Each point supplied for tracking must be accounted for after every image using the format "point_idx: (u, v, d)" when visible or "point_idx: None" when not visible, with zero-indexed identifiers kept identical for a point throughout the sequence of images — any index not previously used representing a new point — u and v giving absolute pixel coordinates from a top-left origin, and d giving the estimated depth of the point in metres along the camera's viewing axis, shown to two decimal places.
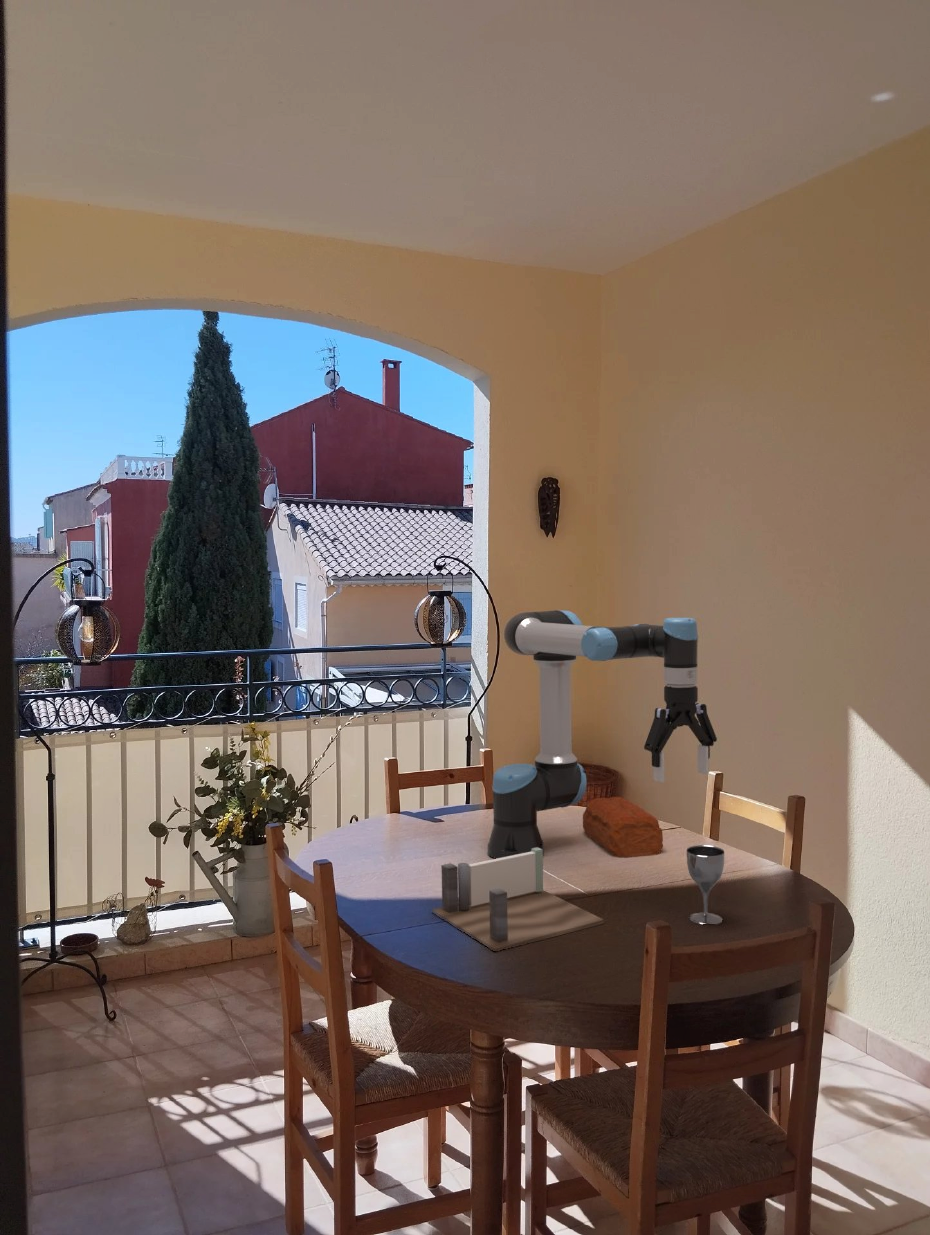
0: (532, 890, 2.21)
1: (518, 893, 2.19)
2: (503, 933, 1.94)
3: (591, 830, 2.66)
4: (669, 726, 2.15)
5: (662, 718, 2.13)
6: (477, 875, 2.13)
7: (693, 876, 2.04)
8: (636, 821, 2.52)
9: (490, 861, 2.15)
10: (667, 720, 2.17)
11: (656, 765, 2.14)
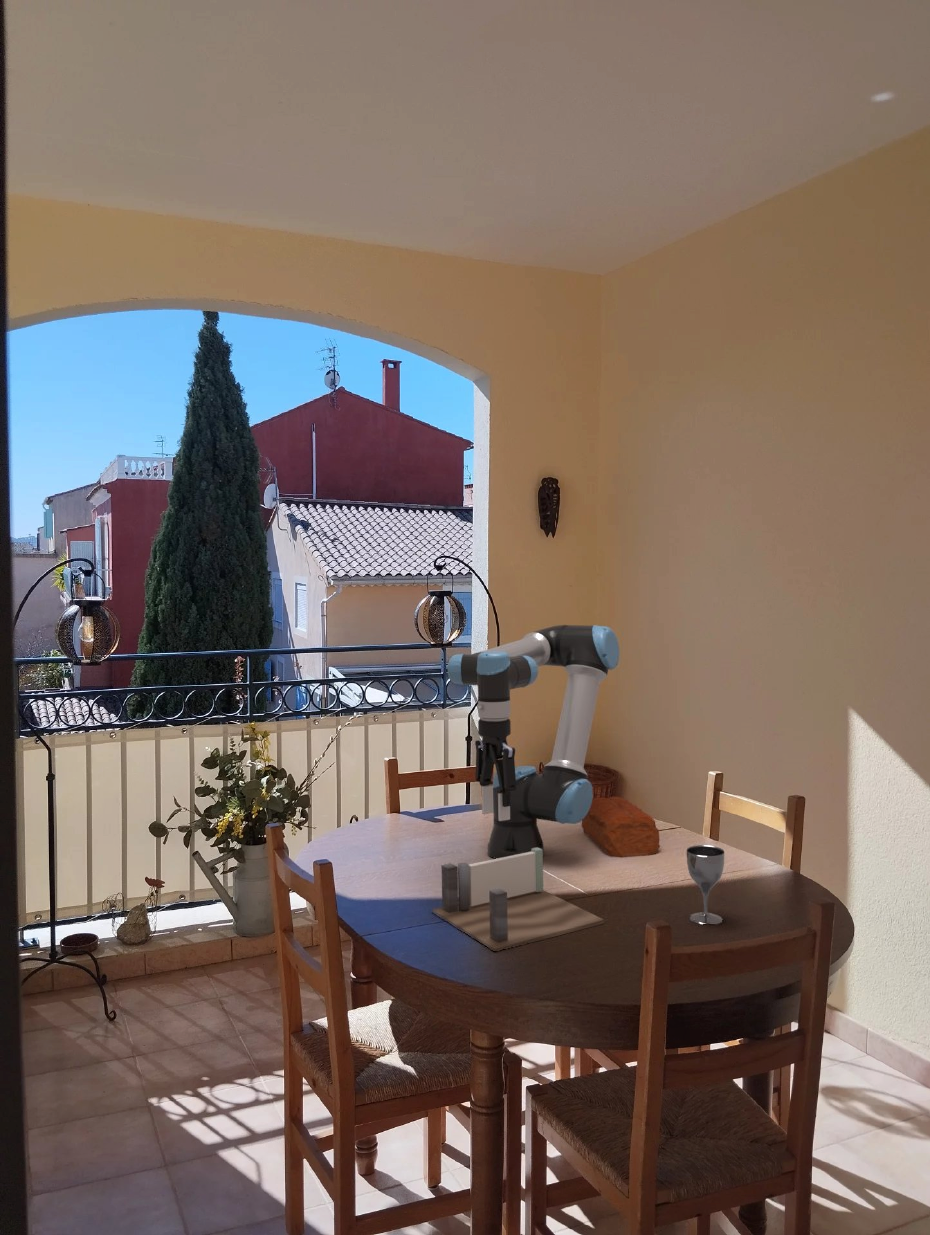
0: (532, 890, 2.21)
1: (518, 893, 2.19)
2: (503, 933, 1.94)
3: (589, 830, 2.66)
4: None
5: (476, 749, 2.26)
6: (477, 875, 2.13)
7: (693, 876, 2.04)
8: (632, 821, 2.53)
9: (490, 861, 2.15)
10: None
11: (482, 796, 2.26)
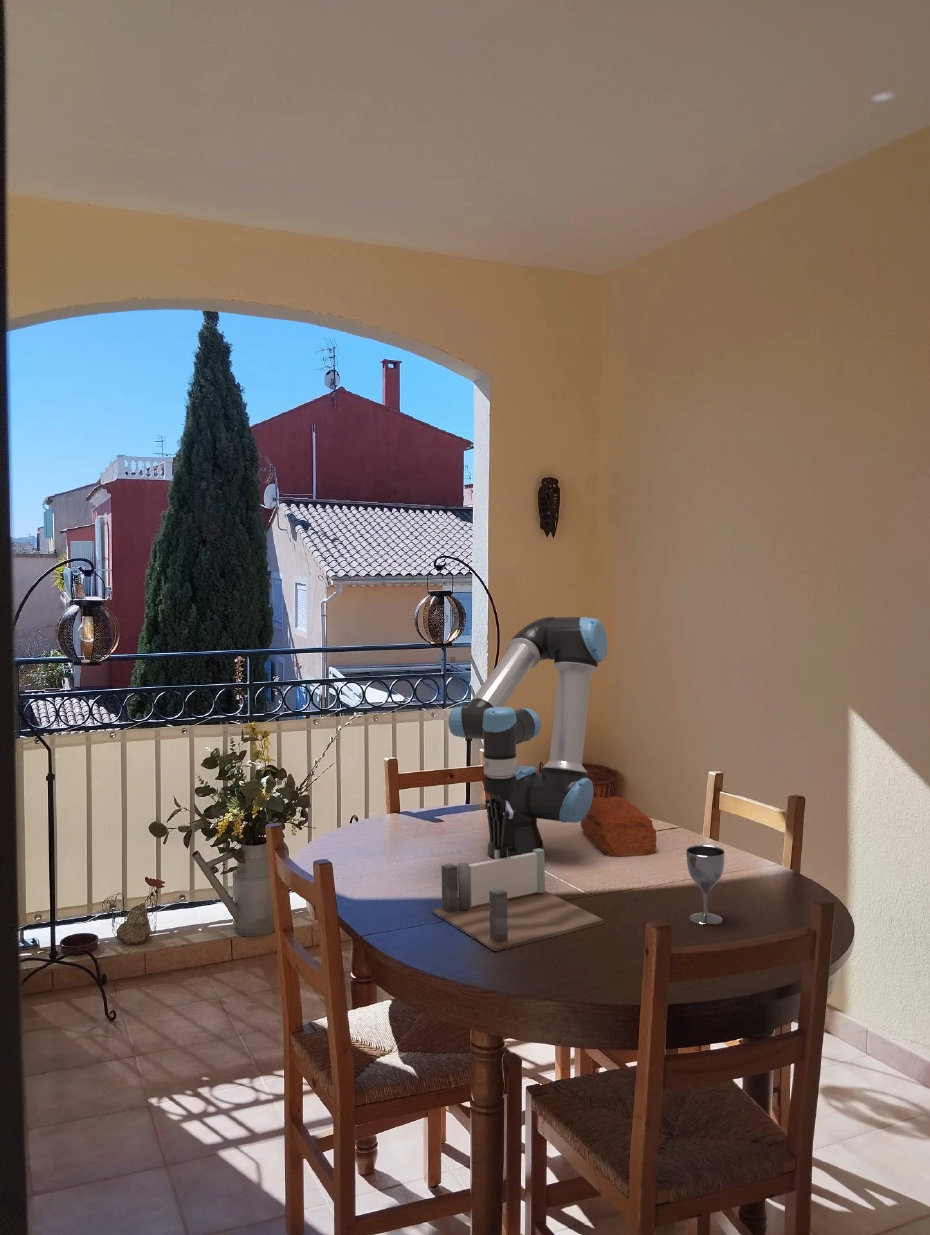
0: (534, 891, 2.20)
1: (519, 894, 2.18)
2: (503, 933, 1.94)
3: (587, 829, 2.67)
4: None
5: (487, 808, 2.24)
6: (477, 875, 2.13)
7: (693, 876, 2.04)
8: (629, 821, 2.53)
9: (491, 861, 2.15)
10: None
11: None
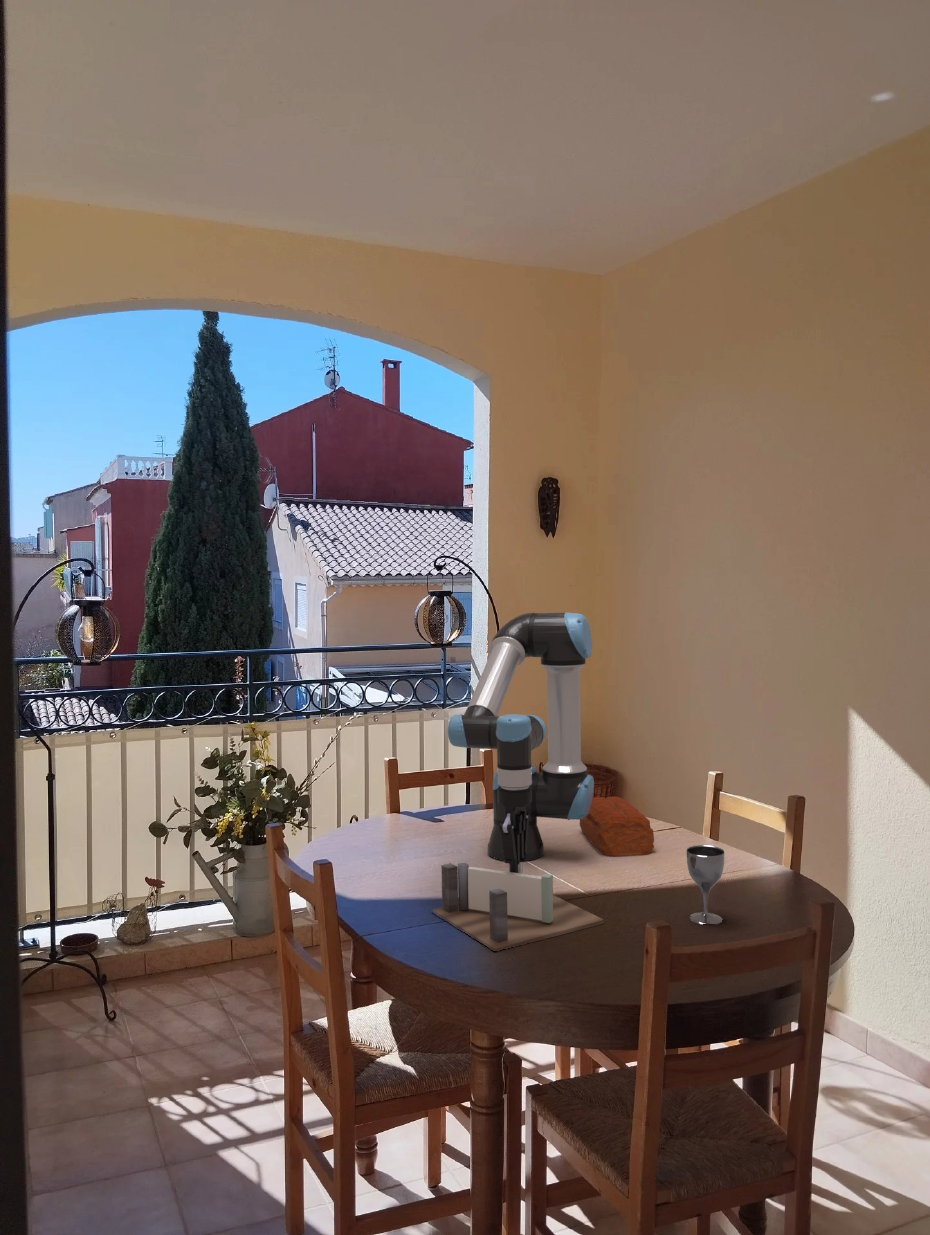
0: (537, 918, 2.04)
1: (521, 915, 2.05)
2: (503, 933, 1.94)
3: (585, 829, 2.67)
4: None
5: None
6: (474, 880, 2.10)
7: (693, 876, 2.04)
8: (626, 821, 2.53)
9: (491, 871, 2.09)
10: None
11: None
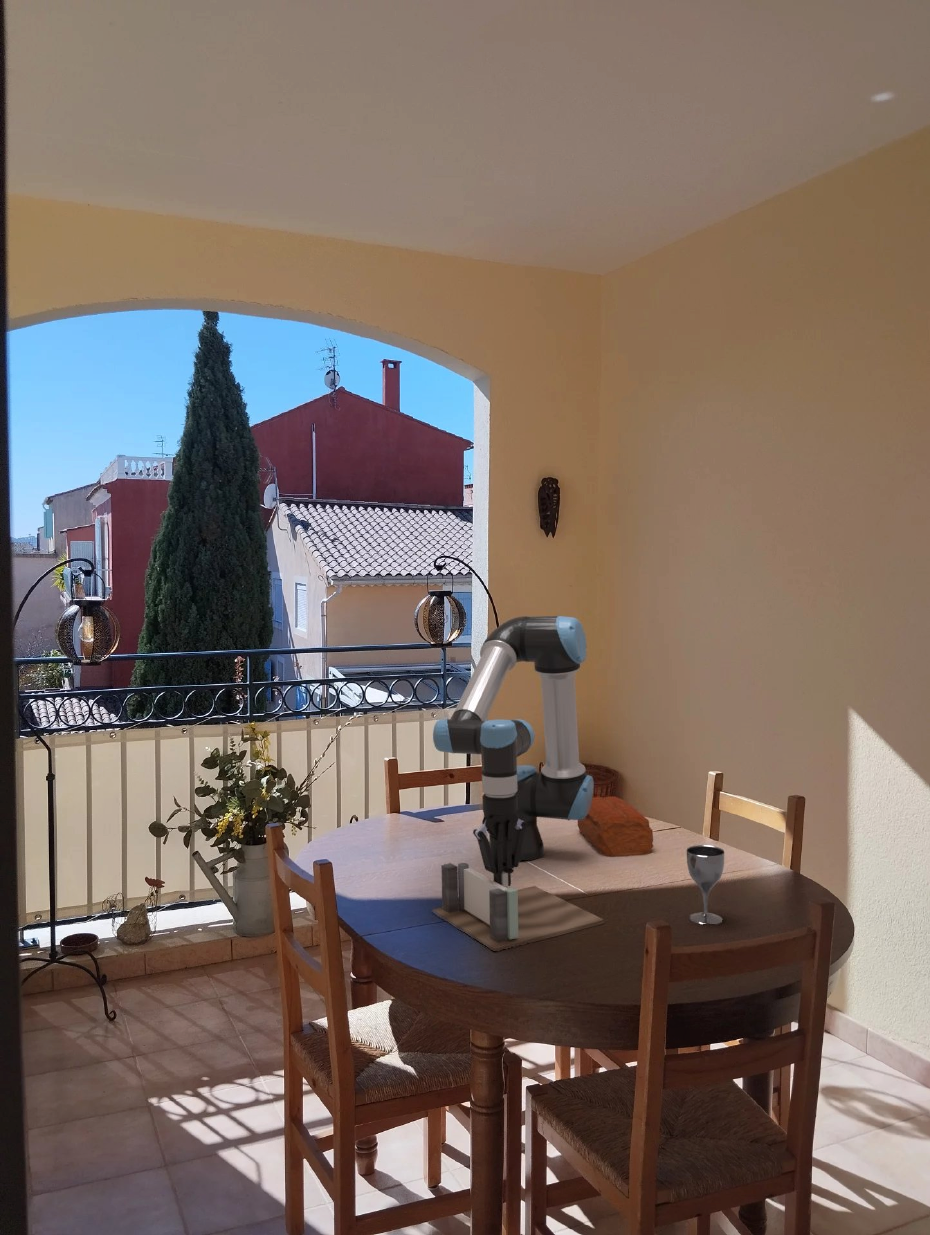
0: None
1: None
2: (503, 933, 1.94)
3: (584, 829, 2.67)
4: None
5: None
6: (467, 881, 2.09)
7: (693, 876, 2.04)
8: (625, 820, 2.53)
9: (478, 875, 2.06)
10: None
11: None
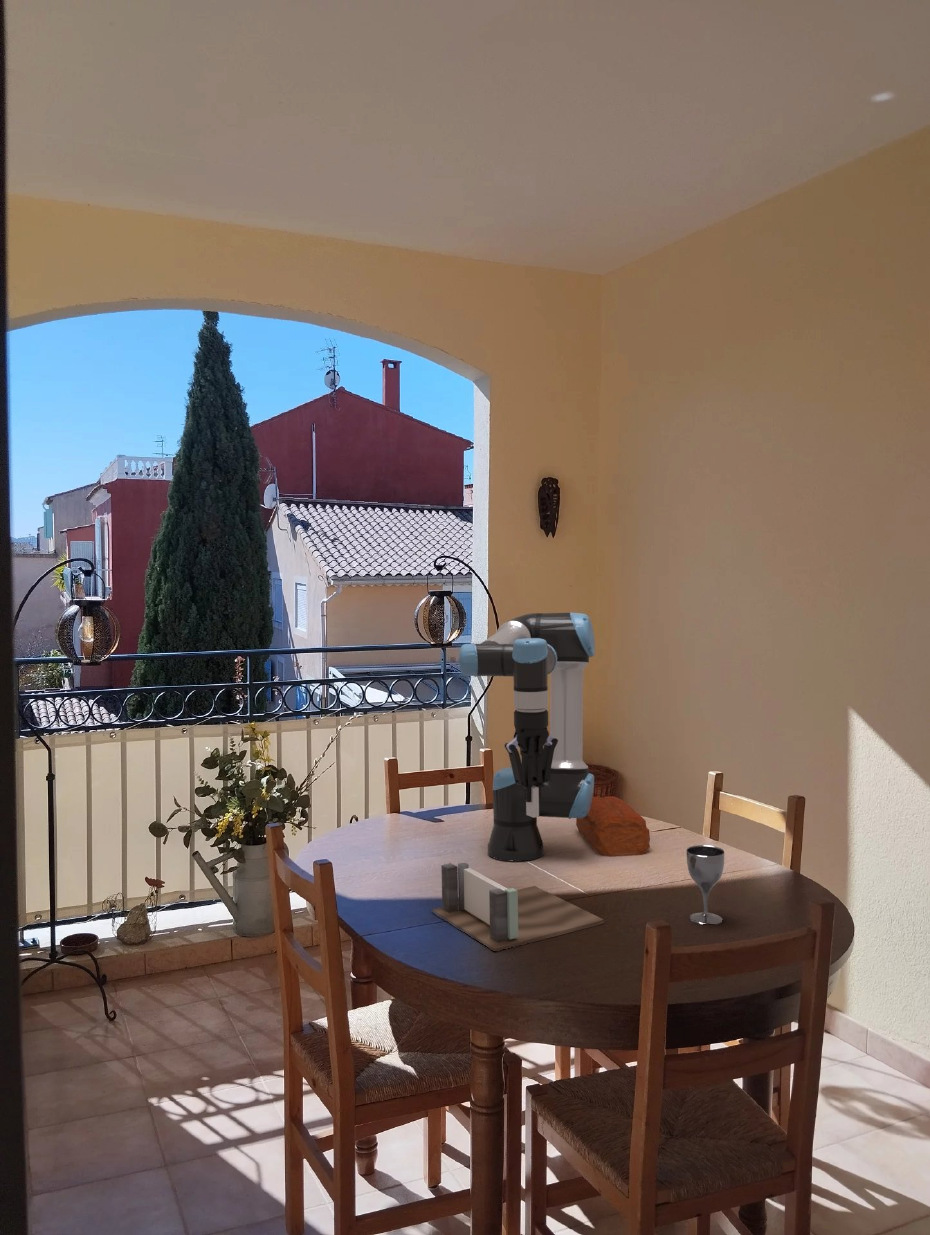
0: None
1: None
2: (503, 933, 1.94)
3: (582, 829, 2.67)
4: None
5: None
6: (467, 881, 2.09)
7: (693, 876, 2.04)
8: (622, 820, 2.53)
9: (478, 875, 2.06)
10: None
11: None
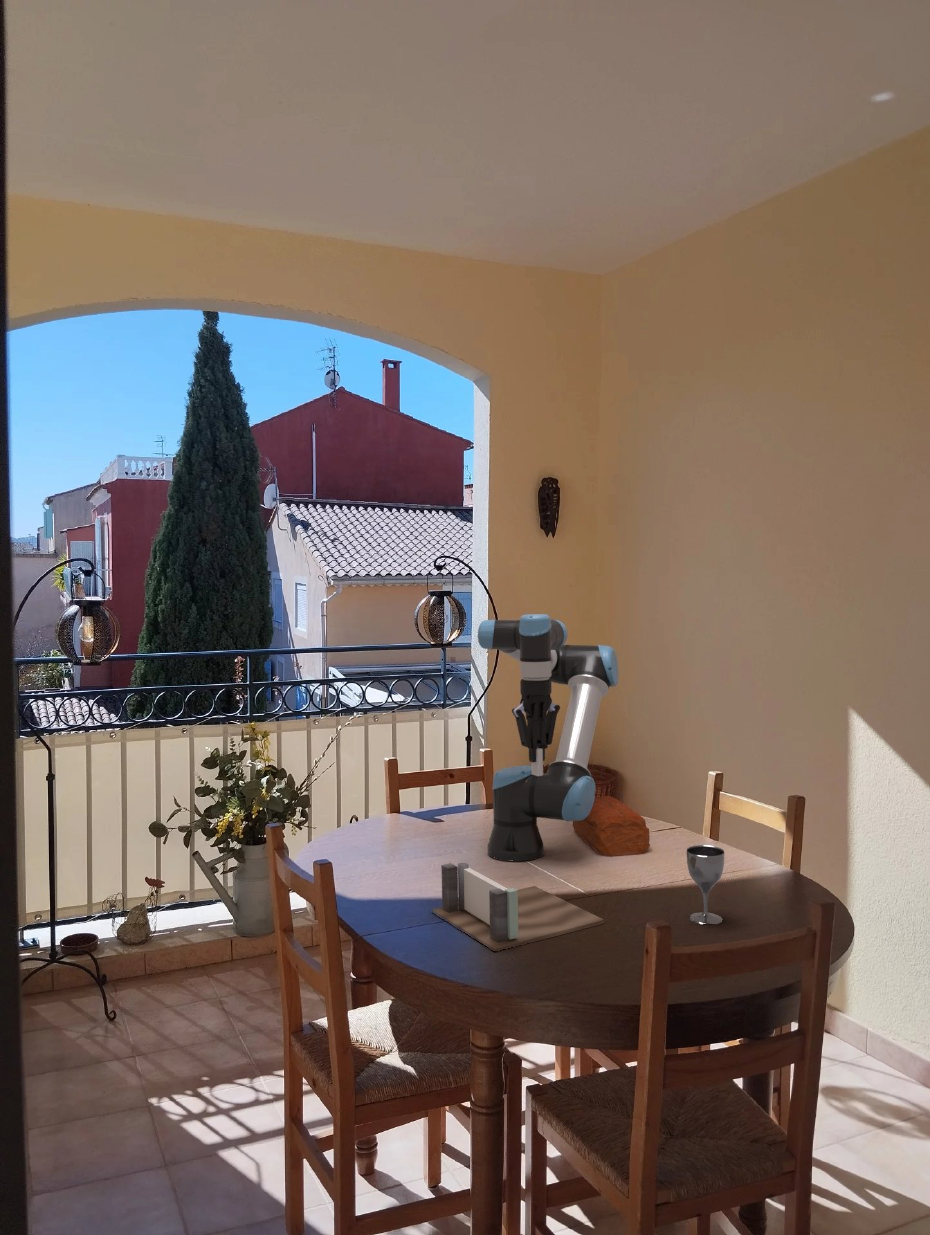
0: None
1: None
2: (503, 933, 1.94)
3: (579, 829, 2.67)
4: None
5: None
6: (467, 881, 2.09)
7: (693, 876, 2.04)
8: (622, 820, 2.53)
9: (478, 875, 2.06)
10: None
11: None
